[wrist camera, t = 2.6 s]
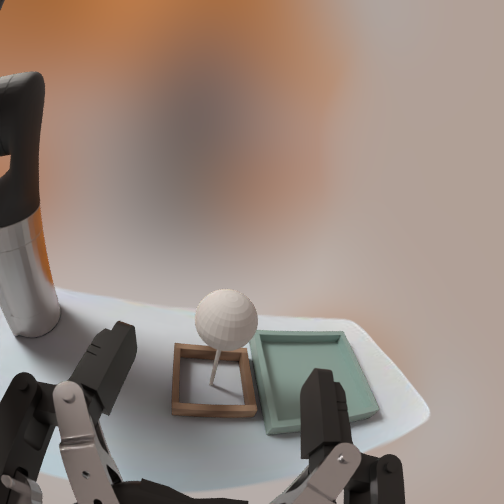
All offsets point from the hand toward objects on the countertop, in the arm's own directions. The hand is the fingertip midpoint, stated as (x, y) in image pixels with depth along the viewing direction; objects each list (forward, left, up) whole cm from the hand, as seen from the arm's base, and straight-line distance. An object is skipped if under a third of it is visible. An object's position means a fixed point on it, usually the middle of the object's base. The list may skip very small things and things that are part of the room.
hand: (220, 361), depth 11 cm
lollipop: (+9, +7, -21) cm, 24 cm away
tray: (+20, -1, -21) cm, 28 cm away
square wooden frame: (+9, +7, -21) cm, 24 cm away
